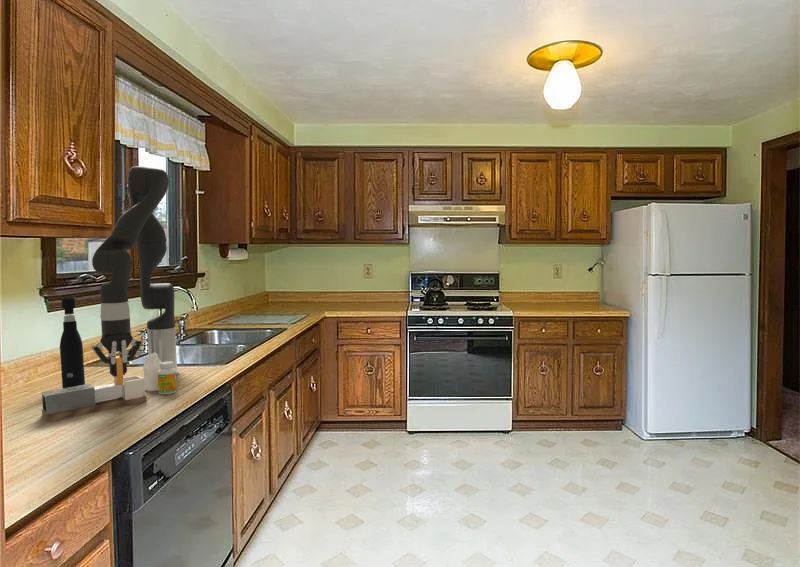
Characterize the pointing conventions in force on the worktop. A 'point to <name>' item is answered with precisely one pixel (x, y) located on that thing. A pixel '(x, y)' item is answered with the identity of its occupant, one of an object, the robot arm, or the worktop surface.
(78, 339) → the black bottle
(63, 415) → the board
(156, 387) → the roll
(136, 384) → the socket
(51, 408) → the grey rectangular box
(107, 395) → the slide bolt
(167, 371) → the supplement bottle
